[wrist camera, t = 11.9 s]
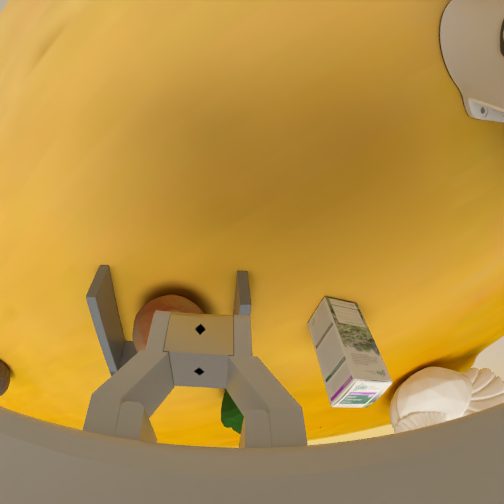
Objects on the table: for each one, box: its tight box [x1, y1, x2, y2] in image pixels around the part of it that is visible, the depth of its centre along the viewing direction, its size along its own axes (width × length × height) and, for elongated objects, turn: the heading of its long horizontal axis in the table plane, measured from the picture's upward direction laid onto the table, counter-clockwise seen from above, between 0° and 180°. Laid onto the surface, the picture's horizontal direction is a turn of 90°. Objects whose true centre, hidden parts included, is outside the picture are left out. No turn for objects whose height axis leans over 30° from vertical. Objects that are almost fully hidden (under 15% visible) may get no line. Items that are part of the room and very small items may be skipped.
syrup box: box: [308, 297, 392, 407], centre depth 39 cm, size 6×6×14 cm
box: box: [86, 265, 251, 376], centre depth 40 cm, size 18×15×6 cm
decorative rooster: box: [390, 366, 504, 433], centre depth 50 cm, size 25×16×25 cm, turn 112°
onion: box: [133, 295, 204, 352], centre depth 38 cm, size 10×10×10 cm
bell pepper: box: [221, 390, 244, 434], centre depth 50 cm, size 8×8×10 cm
